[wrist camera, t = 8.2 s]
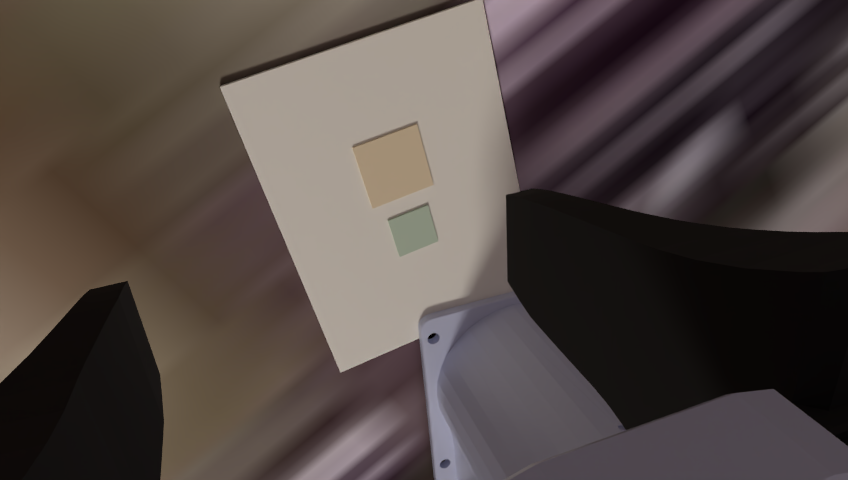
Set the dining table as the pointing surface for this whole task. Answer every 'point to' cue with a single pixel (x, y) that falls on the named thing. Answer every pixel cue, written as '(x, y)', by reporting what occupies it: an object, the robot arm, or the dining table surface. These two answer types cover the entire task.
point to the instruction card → (386, 175)
